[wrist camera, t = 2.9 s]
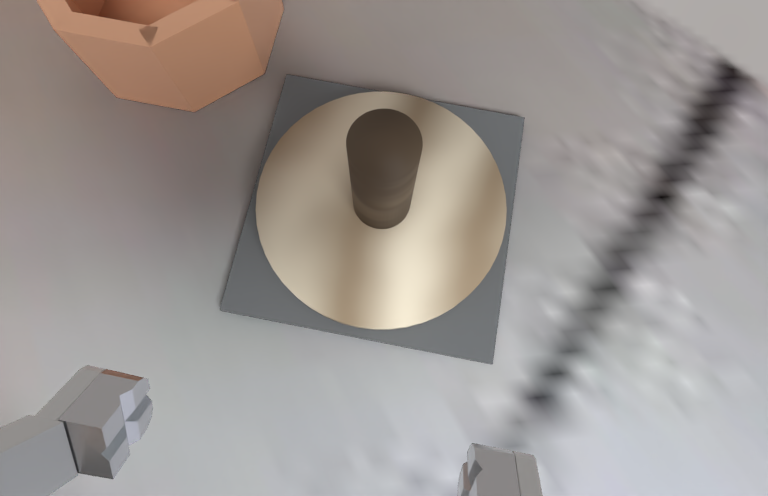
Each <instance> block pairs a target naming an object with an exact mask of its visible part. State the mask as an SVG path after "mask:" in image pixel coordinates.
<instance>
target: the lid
mask: <svg viewBox="0 0 768 496" xmlns="http://www.w3.org/2000/svg"><path fill="white" fill-rule="evenodd" d="M506 213H507V207H506V194H505V190H504V185H503V180H502V177H501V174H500V172H499V169H498V166H497V164H496V162H495V160H494V158H493V156H492V154H491V152H490V151H489V149H488V148H487V146H486V145H485V144H484V142H483V141H482V139H481V138H480V137H479V136H478V135H477V134H476V133H475V131H474V130H473V129H472V128H471V127H470V126H469V125H467V124H466V123H465V122H464V121H463V120H462V119H460V118H459V117H458V116H456V115H455V114H453V113H452V112H450V111H449V110H447V109H445V108H443V107H441V106H439V105H437V104H436V103H434V102H431V101H428V100H425V99H423V98H420V97H416V96H412V95H408V94H404V93H396V92H365V93H357V94H353V95H348V96H344V97H341V98H338V99H335V100H333V101H330V102H328V103H326V104H324V105H322V106H320V107H318V108H316V109H314V110H312V111H311V112H309V113H308V114H306V115H305V116H303V117H302V118H301V119H300V120H298V121H297V122H296V123H295V124H294V125H293V126H291V127H290V129H289V130H288V131H287V132H286V133H285V134H284V135H283V136H282V137H281V139H280V140H279V141H278V143H277V144H276V146H275V147H274V149H273V150H272V152H271V154H270V156H269V157H268V159H267V161H266V163H265V166H264V168H263V171H262V174H261V177H260V180H259V185H258V190H257V196H256V222H257V229H258V233H259V238H260V242H261V244H262V247H263V250H264V253H265V255H266V257H267V259H268V261H269V263H270V265H271V267H272V268H273V270H274V272H275V273H276V274H277V276H278V277H279V278H280V280H281V281H282V282H283V284H284V285H285V286H286V287H287V288H288V289H289V290H290V291H291V292H292V293H293V294H294V295H295V296H296V297H297V298H298V299H299V300H301V301H302V302H303V303H304V304H306V305H307V306H308V307H310V308H311V309H313V310H314V311H316V312H318V313H319V314H321V315H323V316H325V317H327V318H329V319H332V320H334V321H336V322H339V323H342V324H345V325H349V326H353V327H356V328H364V329H372V330H392V329H399V328H407V327H410V326H414V325H418V324H421V323H424V322H427V321H429V320H431V319H434V318H436V317H439V316H440V315H442V314H444V313H445V312H447V311H449V310H450V309H452V308H453V307H455V306H456V305H457V304H458V303H460V302H461V301H462V300H464V299H465V298H466V297H467V296H468V295H469V294H470V293H471V292H472V291H473V290H474V289H475V288H476V287H477V286H478V285H479V284H480V283H481V281H482V280H483V279H484V277H485V276H486V274H487V273H488V272H489V270H490V268H491V267H492V265H493V263H494V261H495V259H496V257H497V255H498V252H499V249H500V246H501V244H502V241H503V236H504V231H505V226H506Z"/></svg>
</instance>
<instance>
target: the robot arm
mask: <svg viewBox="0 0 768 496" xmlns="http://www.w3.org/2000/svg"><path fill="white" fill-rule="evenodd" d="M149 389H150V385H149V380H148V379H147V378H143V377H138V376H134V375H130V374H125V373H121V372H117V371H112V370H108V369H103V368H98V367H94V366H89V365H87V366H85V367H83V368H81V369H80V370H78V372H77V373H76V374H75V375H74V376H73V377H72V378H71V379H70V380H69V381H68V382H67V383H66V384H65V385H64V386H63V387H62V388H61V389H60V390H59V391H58V392H57V393H56V395H55V396H54V397H53V398H52V399H51V400H50V401H49V402H48V403H47V404H46V405H45V406H44V407H43V408H42V409H41V410H40V411H39V412H38V413H37V414H36V415H35V416H32V415H28V416H26V417H23V418H21V419H19V420H17V421H15V422H13V423H10V424H8V425H6V426H4V427H2V428H0V496H48V495H50V494H51V493H53V492H54V491H56V490H57V489H59V488H60V487H61V486H63V485H64V484H66V483H67V482H69V481H70V480H72V479H73V478H75V477H76V476H78V473H81V474H87V475H92V476H98V477H104V478H109V479H114V477H115V476H116V474H117V473H118V471H119V470H120V469H121V467H122V466H123V464H124V463H125V461H126V460H127V458H128V457H129V455H130V451H129V445H131V444H133V443H134V442H136V441H138V440H140V439H141V437H142V436H143V434H144V433H145V431H146V430H147V428H148V425H149V423H150V420H151V417H152V411H153V405H152V400H151V399H150V398H149V397H148V396H147V395H146V394H147V392H148V391H149ZM467 461H468V462H466V463H464V464H463V465H462V468H461V472H460V476H459V482H458V493H457V496H543V494H542V489H541V484H540V478H539V473H538V468H537V463H536V459H535V457H534V456H533V455H530V454H525V453H520V452H515V451H511V450H507V449H501V448H496V447H491V446H485V445H480V444H475V443H472V444H471V445H470V447H469V449H468V452H467Z"/></svg>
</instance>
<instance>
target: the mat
mask: <svg viewBox="0 0 768 496" xmlns="http://www.w3.org/2000/svg"><path fill="white" fill-rule="evenodd" d="M365 92H382V91H376V90H371V89H365V88H360V87H354V86H349V85H343V84H338V83H332V82H327V81H321V80H316V79H310V78H305V77H299V76H294V75H288V74H287V75H286V78H285V82H284V85H283V89H282V92H281V96H280V99H279V103H278V106H277V110H276V113H275V117H274V120H273V124H272V127H271V131H270V134H269V138H268V141H267V145H266V148H265V152H264V155H263V159H262V162H261V166H260V169H259V173H258V177H257V180H256V184H255V187H254V191H253V194H252V198H251V201H250V205H249V208H248V212H247V215H246V219H245V222H244V226H243V229H242V233H241V236H240V240H239V243H238V247H237V250H236V254H235V257H234V261H233V264H232V268H231V271H230V275H229V278H228V282H227V285H226V289H225V292H224V296H223V299H222V303H221V307H220V310H221V311H225V312H230V313H235V314H240V315H245V316H250V317H255V318H260V319H265V320H270V321H275V322H280V323H285V324H290V325H295V326H301V327H306V328H311V329H316V330H321V331H326V332H331V333H336V334H341V335H346V336H351V337H356V338H361V339H366V340H371V341H376V342H381V343H386V344H391V345H396V346H401V347H406V348H411V349H416V350H422V351H427V352H432V353H437V354H442V355H447V356H452V357H457V358H462V359H467V360H472V361H477V362H482V363H487V364H493V357H494V350H495V342H496V334H497V327H498V319H499V311H500V303H501V296H502V288H503V280H504V273H505V265H506V257H507V250H508V242H509V234H510V226H511V219H512V211H513V203H514V196H515V188H516V180H517V172H518V165H519V157H520V149H521V142H522V134H523V126H524V119H525V118H524V117H519V116H513V115H508V114H503V113H497V112H492V111H486V110H481V109H475V108H470V107H464V106H459V105H453V104H448V103H442V102H437V101H431V100H428V101H431V102H434V103H436V104H437V105H439V106H441V107H443V108H445V109H447V110H449V111H450V112H452V113H453V114H455V115H456V116H458V117H459V118H460V119H462V120H463V121H464V122H465V123H466V124H467V125H469V126H470V127H471V128H472V129H473V130H474V131H475V133H476V134H477V135H478V136H479V137H480V138H481V139H482V141H483V142H484V144H485V145H486V146H487V148H488V149H489V151H490V152H491V154H492V156H493V158H494V160H495V162H496V164H497V166H498V169H499V172H500V174H501V177H502V180H503V185H504V190H505V194H506V207H507V213H506V226H505V231H504V236H503V241H502V244H501V246H500V249H499V252H498V255H497V257H496V259H495V261H494V263H493V265H492V267H491V268H490V270H489V272H488V273H487V274H486V276H485V277H484V279H483V280H482V281H481V283H480V284H479V285H478V286H477V287H476V288H475V289H474V290H473V291H472V292H471V293H470V294H469V295H468V296H467V297H466V298H465V299H464V300H462V301H461V302H460V303H458V304H457V305H456V306H455V307H453V308H452V309H450V310H449V311H447V312H445V313H444V314H442V315H440V316H439V317H436V318H434V319H431V320H429V321H427V322H424V323H421V324H418V325H414V326H410V327H407V328H399V329H392V330H372V329H364V328H356V327H353V326H349V325H345V324H342V323H339V322H336V321H334V320H332V319H329V318H327V317H325V316H323V315H321V314H319V313H318V312H316V311H314V310H313V309H311V308H310V307H308V306H307V305H306V304H304V303H303V302H302V301H301V300H299V299H298V298H297V297H296V296H295V295H294V294H293V293H292V292H291V291H290V290H289V289H288V288H287V287H286V286H285V285H284V284H283V282H282V281H281V280H280V278H279V277H278V276H277V274H276V273H275V272H274V270H273V268H272V267H271V265H270V263H269V261H268V259H267V257H266V255H265V253H264V250H263V247H262V244H261V242H260V238H259V233H258V229H257V222H256V196H257V190H258V185H259V180H260V177H261V174H262V171H263V168H264V166H265V163H266V161H267V159H268V157H269V156H270V154H271V152H272V150H273V149H274V147H275V146H276V144H277V143H278V141H279V140H280V139H281V137H282V136H283V135H284V134H285V133H286V132H287V131H288V130H289V129H290V127H291V126H293V125H294V124H295V123H296V122H297V121H298V120H300V119H301V118H302V117H303V116H305V115H306V114H308V113H309V112H311V111H312V110H314V109H316V108H318V107H320V106H322V105H324V104H326V103H328V102H330V101H333V100H335V99H338V98H341V97H344V96H348V95H353V94H357V93H365ZM425 100H426V99H425Z"/></svg>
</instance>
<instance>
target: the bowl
mask: <svg viewBox="0 0 768 496" xmlns="http://www.w3.org/2000/svg"><path fill="white" fill-rule="evenodd" d="M37 2H38V4H39V5H40V7H41V9H42V11H43V12H44V14H45V16H46V17H47V19H48V21H49V22H50V24H51V26H52V28H53V29H54V31H55V32H56V33H57V34H58V35H59V36H60V37H61V38H62V39H63V40H64V42H65V43H66V44H67V45H68V46H69V47H70V48H71V49H72V50H73V51H74V52H75V53H76V54H77V55H78V57H79V58H80V59H81V60H82V61H83V62H84V63H85V64H86V65H87V66H88V67H89V68H90V69H91V71H92V72H93V73H94V74H95V75H96V76H97V77H98V78H99V79H100V80H101V81H102V82H103V83H104V85H105V86H106V87H107V88H108V89H109V90H110V91H111V92H112V93H113V94H114V95H115V96H116V97H117V98H121V99H127V100H132V101H137V102H143V103H148V104H153V105H159V106H164V107H170V108H175V109H180V110H186V111H191V112H196V111H198V110H199V109H201V108H203V107H205V106H207V105H209V104H210V103H212V102H214V101H216V100H218V99H219V98H221V97H223V96H225V95H227V94H229V93H230V92H232V91H234V90H236V89H238V88H239V87H241V86H243V85H245V84H247V83H249V82H250V81H252V80H254V79H256V78H258V77H260V76H261V75H263V74H265V71H266V68H267V64H268V61H269V58H270V54H271V51H272V48H273V44H274V41H275V38H276V34H277V31H278V27H279V24H280V21H281V17H282V14H283V11H284V8H283V3H282V0H37Z"/></svg>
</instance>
